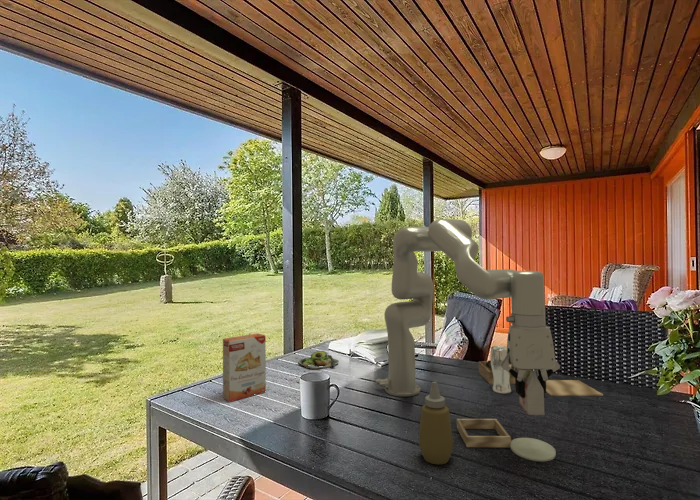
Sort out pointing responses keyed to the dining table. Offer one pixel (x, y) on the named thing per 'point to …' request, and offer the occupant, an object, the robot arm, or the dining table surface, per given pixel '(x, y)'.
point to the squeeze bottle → (435, 428)
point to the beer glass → (500, 370)
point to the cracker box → (244, 366)
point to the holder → (483, 441)
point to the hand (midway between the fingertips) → (530, 395)
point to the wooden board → (570, 388)
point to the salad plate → (318, 360)
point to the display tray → (491, 373)
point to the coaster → (533, 449)
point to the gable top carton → (532, 394)
